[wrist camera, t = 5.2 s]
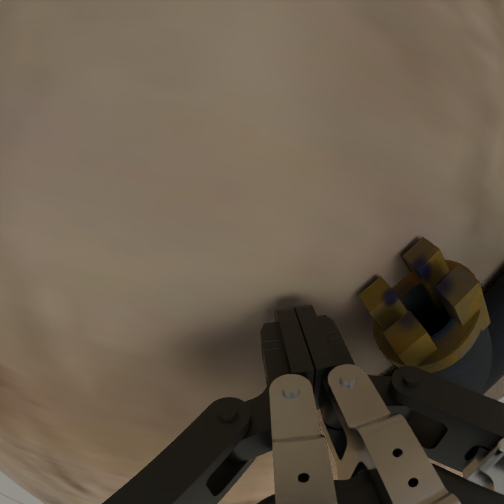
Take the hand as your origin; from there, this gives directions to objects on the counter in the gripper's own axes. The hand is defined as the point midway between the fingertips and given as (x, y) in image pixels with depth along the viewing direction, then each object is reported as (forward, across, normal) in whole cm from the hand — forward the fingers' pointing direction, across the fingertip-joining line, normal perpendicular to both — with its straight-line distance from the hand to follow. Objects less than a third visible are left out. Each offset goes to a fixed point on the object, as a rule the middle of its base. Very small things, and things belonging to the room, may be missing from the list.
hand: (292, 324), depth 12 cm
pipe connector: (+2, -8, +3) cm, 9 cm away
